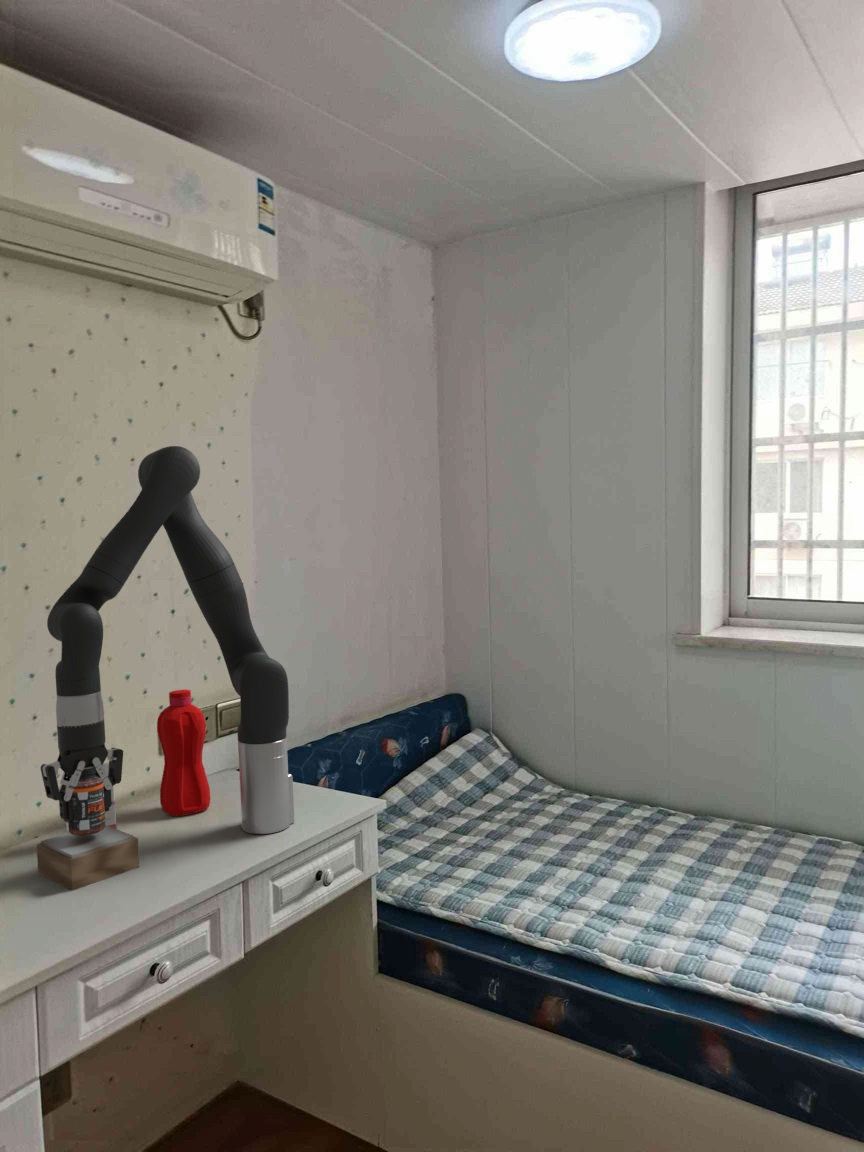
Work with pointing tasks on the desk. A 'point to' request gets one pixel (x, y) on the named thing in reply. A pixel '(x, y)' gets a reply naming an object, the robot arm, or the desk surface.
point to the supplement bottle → (88, 804)
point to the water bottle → (183, 756)
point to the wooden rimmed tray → (87, 857)
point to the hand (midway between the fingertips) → (86, 815)
